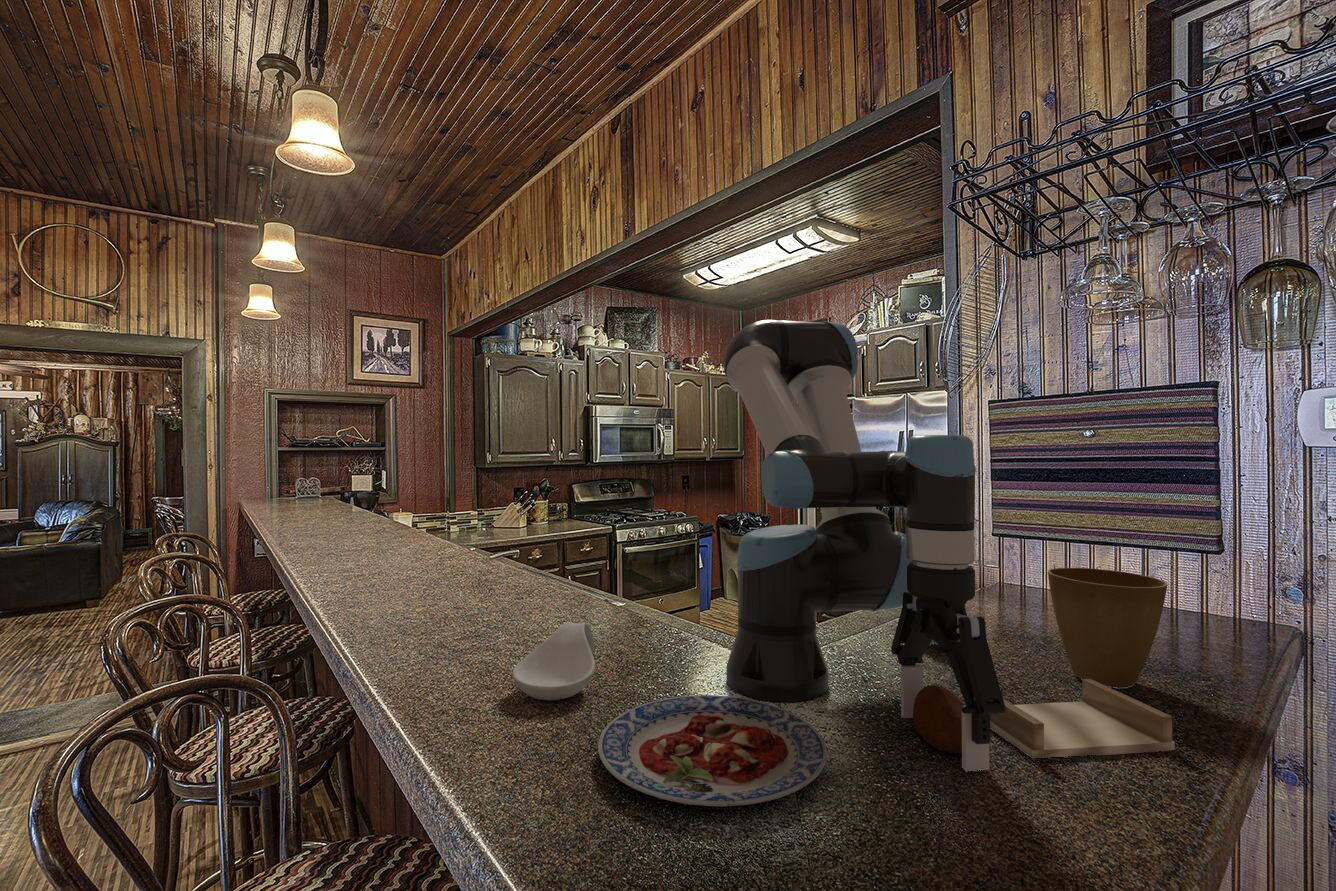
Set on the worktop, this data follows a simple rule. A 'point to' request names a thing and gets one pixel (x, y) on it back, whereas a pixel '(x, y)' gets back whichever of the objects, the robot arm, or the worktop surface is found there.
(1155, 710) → the tray
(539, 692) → the spoon rest
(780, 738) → the ceramic plate
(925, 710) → the potato
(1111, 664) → the plant pot
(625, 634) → the worktop surface
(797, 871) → the worktop surface
